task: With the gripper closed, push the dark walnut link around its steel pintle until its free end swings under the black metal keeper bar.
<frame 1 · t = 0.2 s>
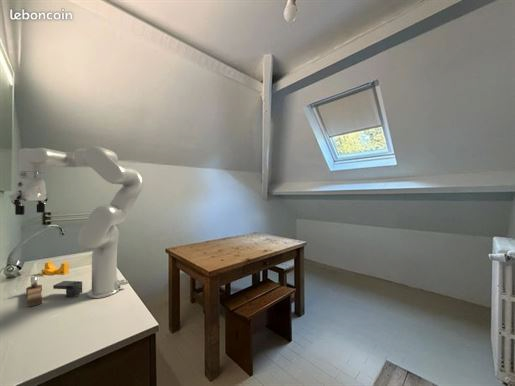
hand: (30, 213, 100), 37 cm above the worktop, tool pointing down, fingers open, 9 cm apart
pipe clamp: (55, 274, 122), on the worktop
keeper: (68, 288, 99), on the worktop
link: (34, 294, 95), point 2 cm above the worktop, hinge at 0.0°
pintle: (34, 281, 100), point 5 cm above the worktop
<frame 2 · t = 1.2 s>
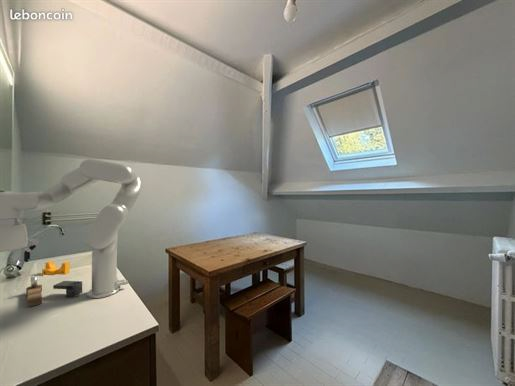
hand: (8, 264, 89), 17 cm above the worktop, tool pointing down, fingers open, 9 cm apart
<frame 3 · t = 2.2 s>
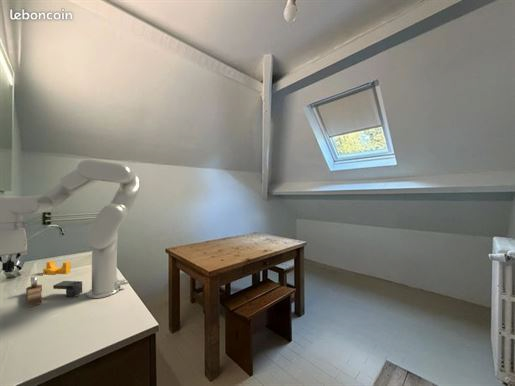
hand: (8, 271, 88), 14 cm above the worktop, tool pointing down, fingers closed
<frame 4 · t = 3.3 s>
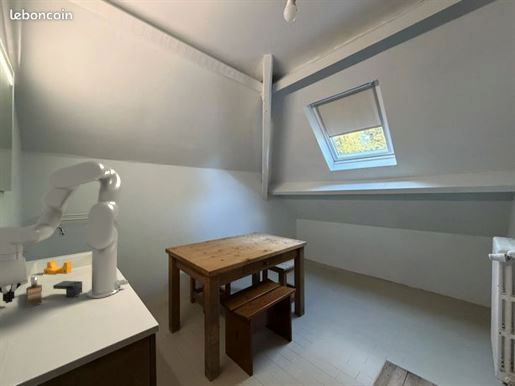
hand: (8, 301, 89), 2 cm above the worktop, tool pointing down, fingers closed
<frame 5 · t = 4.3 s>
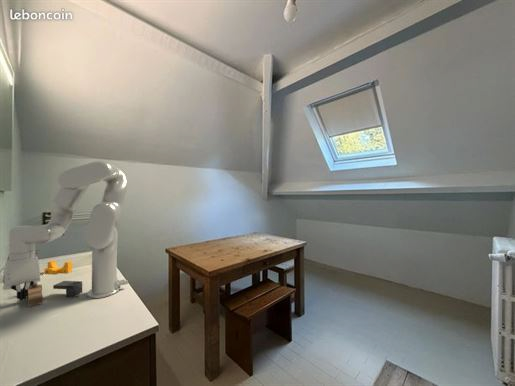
hand: (22, 299, 91), 2 cm above the worktop, tool pointing down, fingers closed
link: (34, 294, 95), point 2 cm above the worktop, hinge at 1.2°, touching gripper
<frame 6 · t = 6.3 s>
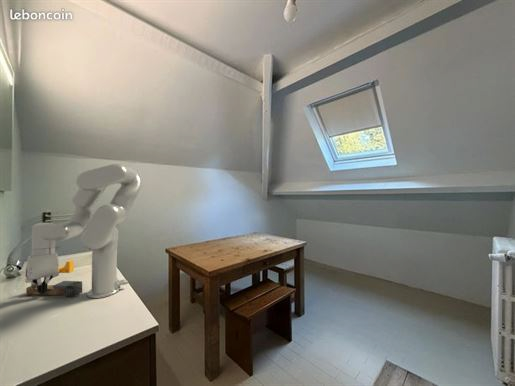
hand: (42, 292, 96), 2 cm above the worktop, tool pointing down, fingers closed
link: (48, 289, 100), point 2 cm above the worktop, hinge at 43.3°, touching gripper
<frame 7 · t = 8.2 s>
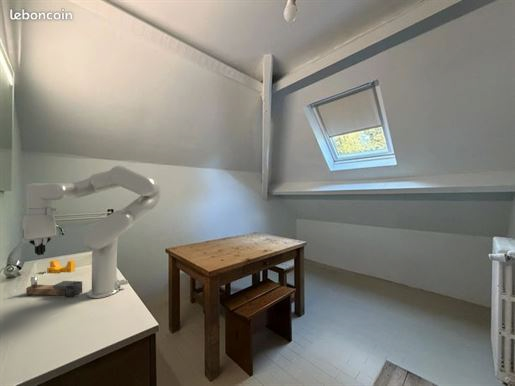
hand: (40, 254, 94), 20 cm above the worktop, tool pointing down, fingers closed
link: (48, 289, 100), point 2 cm above the worktop, hinge at 42.8°
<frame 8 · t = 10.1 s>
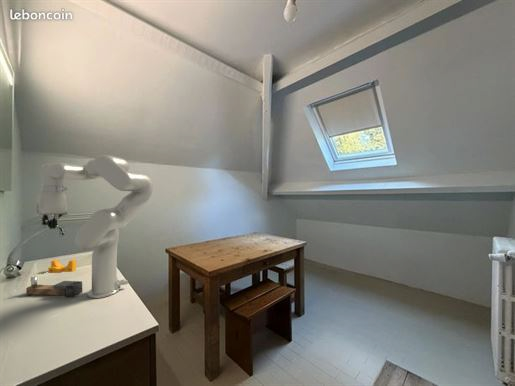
hand: (52, 228, 104), 29 cm above the worktop, tool pointing down, fingers closed
at the end: link at +43° (first picture: +0°) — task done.
